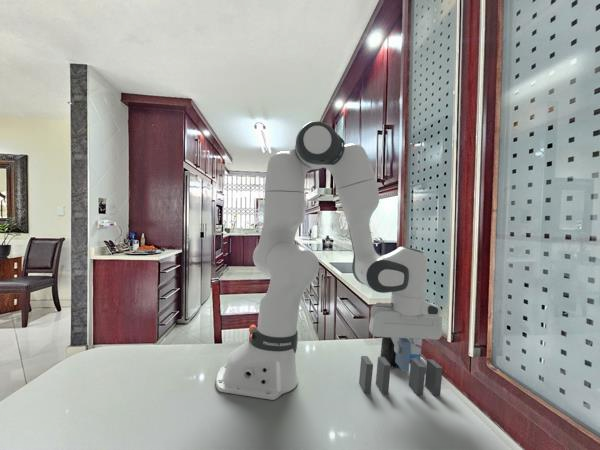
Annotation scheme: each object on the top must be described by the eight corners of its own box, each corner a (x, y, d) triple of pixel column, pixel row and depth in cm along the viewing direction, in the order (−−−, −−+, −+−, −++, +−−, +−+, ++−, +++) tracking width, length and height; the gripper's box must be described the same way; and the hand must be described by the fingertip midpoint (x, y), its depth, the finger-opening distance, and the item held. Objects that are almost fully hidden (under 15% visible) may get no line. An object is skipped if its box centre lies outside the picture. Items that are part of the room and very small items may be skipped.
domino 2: (381, 393, 80) (384, 365, 80) (375, 383, 85) (378, 356, 85) (388, 394, 80) (390, 365, 80) (381, 384, 85) (384, 356, 85)
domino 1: (364, 393, 80) (366, 364, 80) (358, 383, 85) (361, 355, 85) (370, 393, 80) (373, 364, 80) (364, 383, 85) (367, 356, 85)
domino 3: (402, 370, 80) (404, 342, 80) (395, 362, 85) (397, 335, 85) (408, 371, 81) (411, 342, 81) (401, 362, 86) (403, 335, 86)
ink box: (421, 362, 102) (424, 329, 101) (406, 361, 102) (409, 327, 102) (412, 352, 110) (414, 321, 110) (398, 350, 110) (401, 319, 110)
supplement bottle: (402, 369, 95) (405, 333, 95) (380, 365, 97) (383, 329, 97) (399, 360, 102) (402, 326, 102) (379, 356, 103) (382, 323, 103)
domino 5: (433, 396, 81) (436, 367, 81) (424, 386, 86) (427, 359, 86) (440, 396, 81) (442, 368, 81) (430, 386, 86) (433, 359, 86)
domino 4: (416, 395, 81) (419, 366, 81) (408, 385, 86) (411, 358, 86) (422, 395, 81) (425, 367, 81) (414, 385, 86) (416, 358, 86)
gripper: (375, 305, 79) (371, 356, 79) (447, 309, 80) (443, 359, 81) (368, 299, 85) (364, 345, 85) (434, 302, 87) (431, 348, 87)
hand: (403, 352), depth 83 cm, fingers closed on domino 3, 2 cm apart
